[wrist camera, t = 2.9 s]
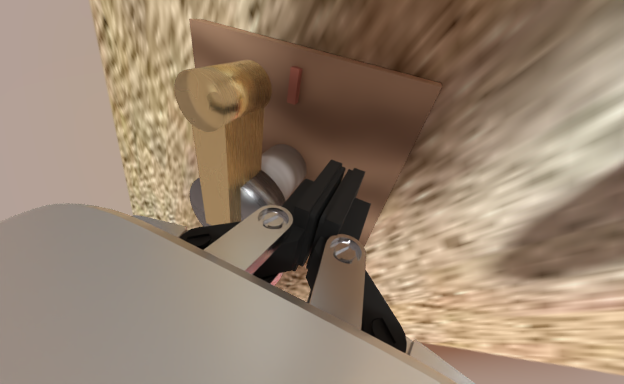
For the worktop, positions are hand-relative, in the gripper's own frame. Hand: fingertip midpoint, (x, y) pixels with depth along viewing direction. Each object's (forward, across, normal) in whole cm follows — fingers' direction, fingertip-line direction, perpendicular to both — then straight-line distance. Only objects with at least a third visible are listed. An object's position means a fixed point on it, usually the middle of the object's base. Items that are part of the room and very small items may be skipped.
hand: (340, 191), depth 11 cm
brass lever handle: (+3, +7, +3) cm, 8 cm away
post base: (+11, +7, +6) cm, 14 cm away
